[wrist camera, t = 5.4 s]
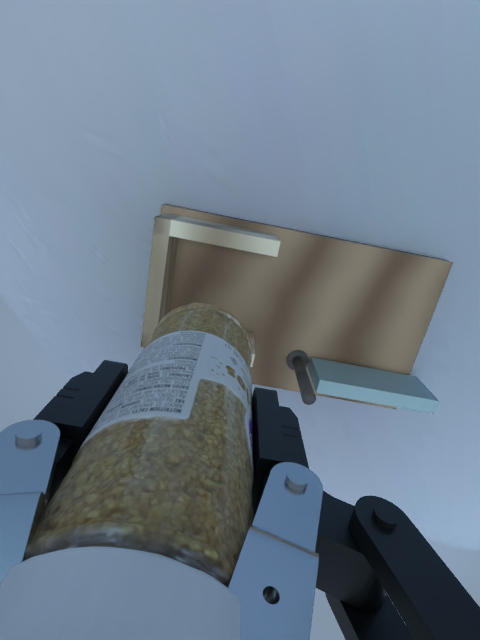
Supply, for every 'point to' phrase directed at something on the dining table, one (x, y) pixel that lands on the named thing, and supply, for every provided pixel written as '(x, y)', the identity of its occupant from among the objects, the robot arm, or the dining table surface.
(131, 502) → the sprinkles bottle
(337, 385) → the bar
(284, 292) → the socket board
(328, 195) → the dining table surface
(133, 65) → the dining table surface
